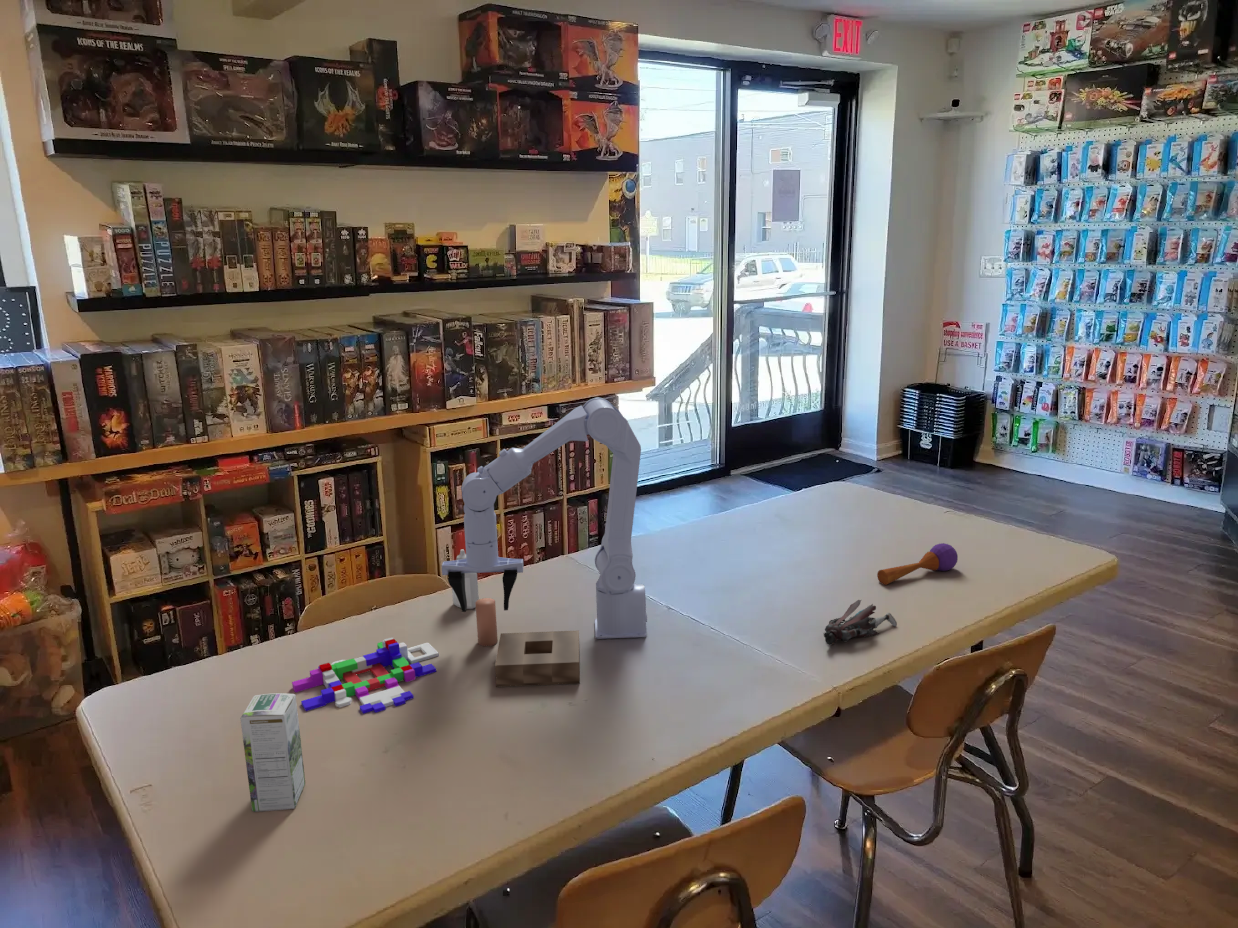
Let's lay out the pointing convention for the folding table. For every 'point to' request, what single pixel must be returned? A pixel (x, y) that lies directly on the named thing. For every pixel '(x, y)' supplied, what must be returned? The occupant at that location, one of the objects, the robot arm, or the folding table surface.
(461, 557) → the eye dropper bottle
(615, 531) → the robot arm
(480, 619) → the pin
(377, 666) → the building block set
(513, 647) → the socket block
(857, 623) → the action figure
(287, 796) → the syrup box
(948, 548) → the purple and brown maraca
